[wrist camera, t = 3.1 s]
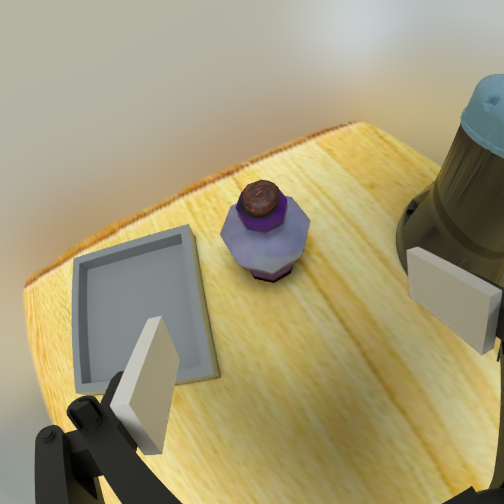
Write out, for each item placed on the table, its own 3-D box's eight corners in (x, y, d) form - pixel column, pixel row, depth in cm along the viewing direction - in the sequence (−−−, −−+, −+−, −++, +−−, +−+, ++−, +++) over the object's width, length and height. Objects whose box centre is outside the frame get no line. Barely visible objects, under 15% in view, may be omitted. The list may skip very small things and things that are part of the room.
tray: (195, 237, 38) (188, 224, 36) (220, 377, 30) (213, 373, 27) (85, 268, 38) (73, 258, 36) (90, 395, 30) (75, 393, 27)
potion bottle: (263, 215, 39) (251, 143, 28) (323, 251, 35) (333, 182, 25) (217, 268, 36) (186, 206, 25) (278, 311, 33) (270, 260, 22)
